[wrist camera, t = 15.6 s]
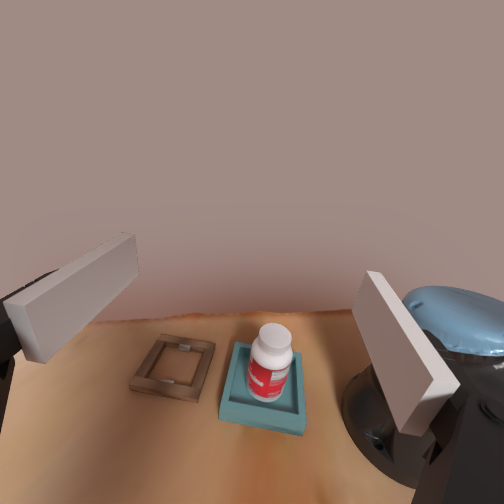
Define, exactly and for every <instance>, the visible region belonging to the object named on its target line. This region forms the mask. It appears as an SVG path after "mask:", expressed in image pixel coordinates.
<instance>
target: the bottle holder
mask: <svg viewBox="0 0 504 504" xmlns="http://www.w3.org/2000/svg"><path fill="white" fill-rule="evenodd" d="M215 345H216V344H214V343H209V342H203V341H198V340H192V339H187V338H181V337H176V336H170V335H165V334H161V335H160V336H159V338H158V339H157V341H156V343H155V344H154V346H153V347H152V349H151V351H150V352H149V354H148V355H147V357H146V358H145V360H144V362H143V363H142V365H141V366H140V368H139V370H138V371H137V373H136V374H135V376H134V378H133V379H132V381H131V382H130V384H129V388H130V390H134V391H139V392H144V393H149V394H154V395H159V396H164V397H169V398H174V399H179V400H184V401H189V402H195V403H197V402H198V399H199V396H200V393H201V390H202V387H203V384H204V381H205V378H206V375H207V372H208V369H209V366H210V363H211V360H212V357H213V354H214V351H215ZM165 346H169V347H174V348H179V350H180V351H186V352H190V351H196V352H201V353H204V354H203V356H202V359H201V362H200V364H199V367H198V370H197V372H196V375H195V378H194V380H193V383H192V386H191V387H190V386H184V385H179V384H175V381H172V380H166V379H162V380H161V381H159V380H153V379H148V378H147V377H148V375H149V374H150V372H151V370H152V368H153V367H154V365H155V363H156V362H157V360H158V358H159V356H160V355H161V353H162V351H163V349H164V348H165Z"/></svg>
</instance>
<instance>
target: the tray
mask: <svg viewBox="0 0 504 504" xmlns="http://www.w3.org/2000/svg"><path fill="white" fill-rule="evenodd" d="M251 347H252V344H247V343H242V342H236V341H235V345H234V350H233V354H232V358H231V362H230V366H229V370H228V375H227V379H226V383H225V387H224V391H223V395H222V400H221V404H220V410H219V420H223V421H228V422H233V423H238V424H243V425H248V426H253V427H258V428H263V429H268V430H273V431H278V432H283V433H288V434H293V435H298V436H302V435H303V433H304V430H305V427H306V424H307V421H306V408H305V396H304V383H303V370H302V358H301V353H297V352H293V357H292V361H291V365H290V368H289V372H288V375H287V379H286V382H285V386H284V390H283V392H282V394H281V396H280V397H279V398H278V399H277V400H275V401H272V402H262V401H259V400H257V399H255V398H254V397H253V396H252V395H251V394H250V393H249V391H248V389H247V386H246V377H247V371H248V365H249V359H250V353H251Z"/></svg>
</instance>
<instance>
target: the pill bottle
mask: <svg viewBox="0 0 504 504" xmlns="http://www.w3.org/2000/svg"><path fill="white" fill-rule="evenodd" d="M291 339H292V337H291V334H290V332H289V330H288V329H287V328H285V327H284V326H282V325H280V324H276V323H268V324H265V325H263V326H262V327H261V329H260V331H259V335H258V337H257V338H256V339H255V340H254V342H253V344H252V347H251V353H250V359H249V365H248V371H247V377H246V386H247V389H248V391H249V393H250V394H251V395H252V396H253V397H254V398H255V399H257V400H259V401H262V402H272V401H275V400H277V399H278V398H279V397H280V396H281V394H282V392H283V390H284V386H285V382H286V379H287V375H288V372H289V368H290V365H291V361H292V357H293V352H292V348H291V346H290V345H291Z"/></svg>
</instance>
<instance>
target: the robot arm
mask: <svg viewBox="0 0 504 504" xmlns="http://www.w3.org/2000/svg"><path fill="white" fill-rule="evenodd" d="M138 276H139V268H138V258H137V249H136V239H135V234H129V233H121V234H119V235H117V236H115V237H114V238H112V239H110V240H108V241H107V242H105V243H103V244H102V245H100V246H98V247H96V248H95V249H93V250H91V251H90V252H88V253H86V254H85V255H83V256H81V257H79V258H77V259H76V260H74V261H72V262H71V263H69V264H67V265H65V266H64V267H62V268H60V269H57V270H55V271H52V272H49V273H46V274H44V275H43V276H41V277H39V278H37V279H35V281H32V282H30V283H28V284H27V285H25V287H21V288H20V289H18V290H16V291H14V292H13V293H11V294H9V295H7V296H5V297H4V298H2V299H0V433H1V428H2V423H3V419H4V414H5V409H6V405H7V400H8V395H9V390H10V386H11V381H12V376H13V371H14V367H15V359H14V357H13V356H14V355H15V354H16V353H17V352H19V351H20V350H21V349H22V351H23V353H24V356H25V358H26V360H27V361H33V362H38V363H43V364H46V363H47V362H48V361H49V360H50V359H51V358H52V357H53V356H54V355H55V354H56V353H57V352H58V351H60V350H61V349H62V348H63V347H64V346H65V345H66V344H67V343H68V342H69V341H70V340H71V339H72V338H73V337H74V336H75V335H76V334H78V333H79V332H80V331H81V330H82V329H83V328H84V327H85V326H86V325H87V324H88V323H89V322H90V321H91V320H92V319H93V318H94V317H96V316H97V315H98V314H99V313H100V312H101V311H102V310H103V309H104V308H105V307H106V306H107V305H108V304H109V303H110V302H111V301H113V299H115V298H116V297H117V296H118V295H119V294H120V293H121V292H122V291H123V290H124V289H125V288H126V287H127V286H128V285H129V284H130V283H132V281H134V280H135V279H136V278H137V277H138ZM352 313H353V316H354V318H355V321H356V323H357V326H358V328H359V331H360V334H361V336H362V339H363V341H364V344H365V346H366V349H367V351H368V354H369V357H370V359H371V362H372V364H371V365H370V366H368V367H367V368H366V369H365V370H364V371H363V372H362V373H359V374H358V375H356V376H355V377H353V378H352V379H351V381H350V382H349V383H348V385H347V387H346V390H345V392H344V394H343V398H342V414H343V418H344V422H345V425H346V427H347V429H348V432H349V434H350V436H351V437H352V439H353V441H354V442H355V444H356V445H357V447H358V448H359V449H360V451H361V452H362V453H363V454H364V455H365V457H366V458H367V459H368V460H369V461H370V462H371V463H372V464H373V465H374V466H375V467H377V468H378V469H379V470H380V471H381V472H383V473H384V474H385V475H387V476H388V477H390V478H391V479H393V480H395V481H396V482H398V483H400V484H402V485H405V486H407V487H410V488H413V489H416V491H415V494H414V497H413V500H412V503H411V504H504V302H502V301H500V300H497V299H495V298H492V297H489V296H485V295H483V294H480V293H476V292H472V291H469V290H464V289H459V288H453V287H446V286H425V287H420V288H416V289H414V290H412V291H410V292H409V293H408V294H406V296H405V297H404V299H403V300H402V302H401V301H400V299H399V298H398V296H397V295H396V294H395V292H394V291H393V289H392V288H391V287H390V285H389V284H388V282H387V281H386V280H385V278H384V277H383V275H382V274H381V273H378V272H372V271H366V273H365V276H364V278H363V281H362V284H361V286H360V289H359V292H358V295H357V297H356V300H355V303H354V306H353V308H352Z"/></svg>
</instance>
